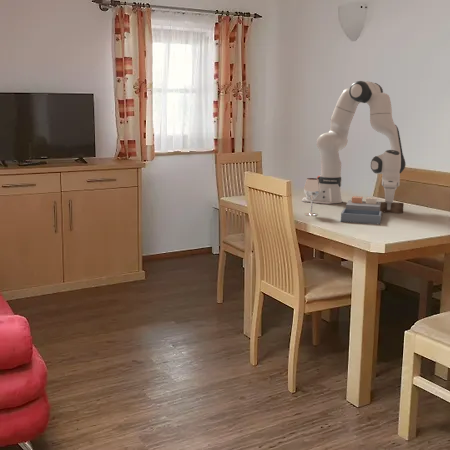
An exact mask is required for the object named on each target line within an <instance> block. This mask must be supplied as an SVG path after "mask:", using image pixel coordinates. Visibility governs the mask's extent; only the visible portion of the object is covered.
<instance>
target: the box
mask: <svg viewBox="0 0 450 450" xmlns="http://www.w3.org/2000/svg"><path fill="white" fill-rule="evenodd" d="M382 213H383V212H382V211H373V210H357V209H346V208H343V210H342V212H341V213H340V223H341V222H342V223H354V224H355V223H357V224H358V223H359V224H373V225H380V224H381V221H382Z"/></svg>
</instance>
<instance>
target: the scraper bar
mask: <svg viewBox="0 0 450 450" xmlns="http://www.w3.org/2000/svg"><path fill="white" fill-rule="evenodd" d="M380 202H381V208H380V211H382V212H381V213H387V214H388V213H391V214H403V213H404V205H405V204H404V202H395V201H393V203H391V209H390V210H387V203H386V202H385V201H380Z"/></svg>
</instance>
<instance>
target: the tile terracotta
mask: <svg viewBox="0 0 450 450" xmlns="http://www.w3.org/2000/svg"><path fill="white" fill-rule="evenodd" d="M363 198H364V197H363V196H357V195H356V196H355V195H354V196H353V195H352V196H351V201H352V203H362V202H363V201H364V199H363Z"/></svg>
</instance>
